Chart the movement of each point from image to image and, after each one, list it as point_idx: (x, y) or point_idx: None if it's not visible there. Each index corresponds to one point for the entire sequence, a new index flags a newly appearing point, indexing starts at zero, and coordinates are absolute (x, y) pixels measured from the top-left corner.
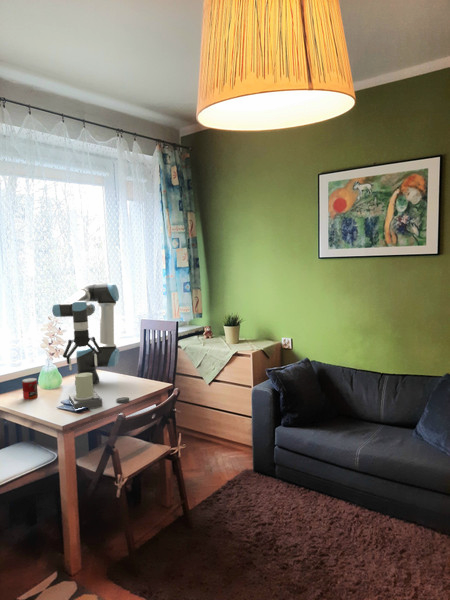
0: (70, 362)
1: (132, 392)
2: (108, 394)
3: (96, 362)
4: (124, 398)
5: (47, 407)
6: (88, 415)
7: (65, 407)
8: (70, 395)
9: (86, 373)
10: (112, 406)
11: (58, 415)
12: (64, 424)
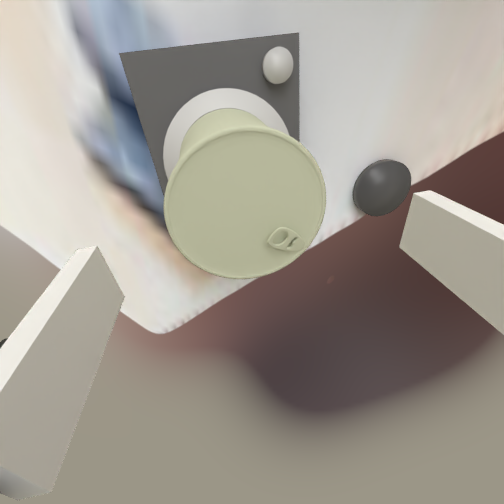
0: (74, 394)
1: (485, 51)
2: (373, 8)
3: (442, 274)
4: (392, 187)
5: (11, 111)
6: (231, 288)
7: (128, 161)
8: (134, 73)
9: (280, 167)
10: (322, 232)
11: (119, 256)
12: (160, 331)
